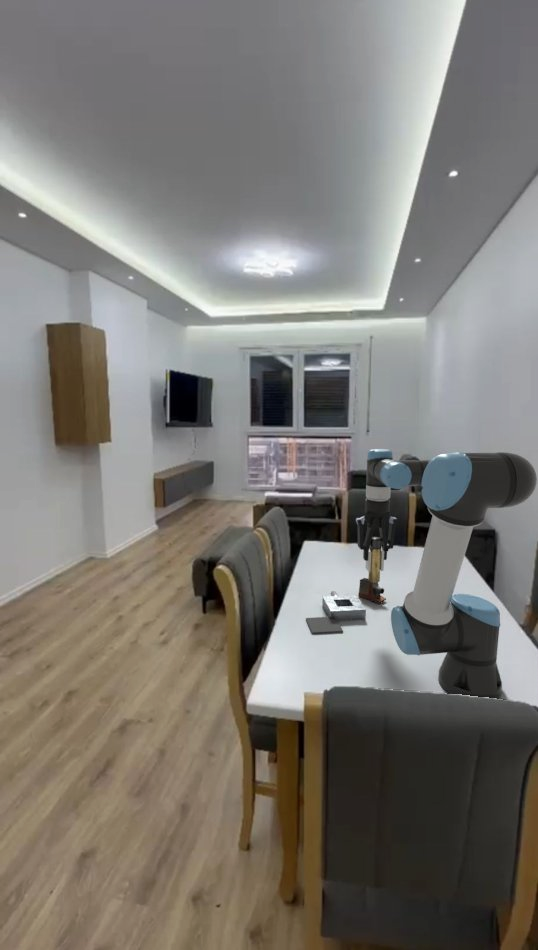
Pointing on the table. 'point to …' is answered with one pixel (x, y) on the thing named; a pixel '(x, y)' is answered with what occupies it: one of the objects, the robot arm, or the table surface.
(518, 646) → the table surface
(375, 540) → the gold and black cylinder
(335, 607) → the block
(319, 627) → the pad
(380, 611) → the table surface
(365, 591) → the electronic device
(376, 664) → the table surface
